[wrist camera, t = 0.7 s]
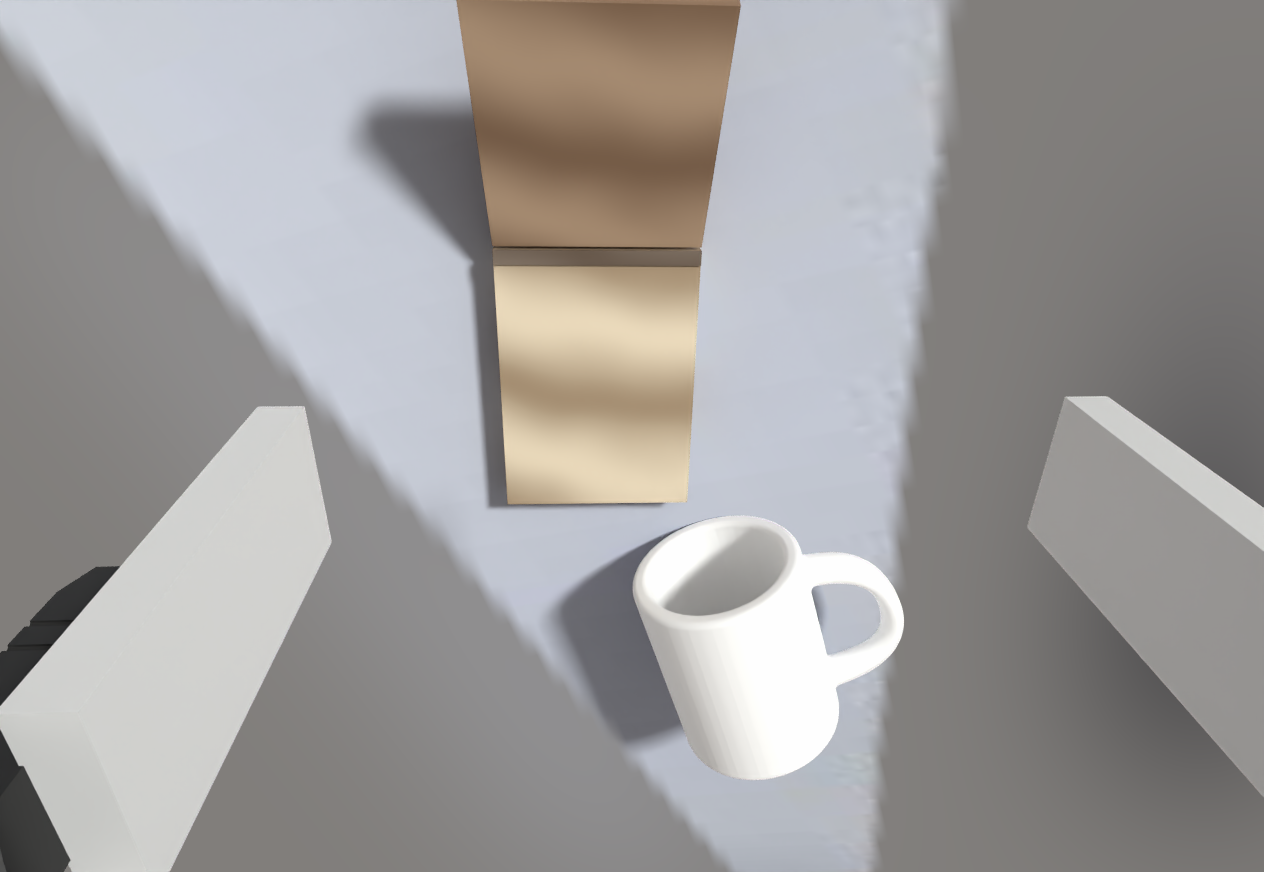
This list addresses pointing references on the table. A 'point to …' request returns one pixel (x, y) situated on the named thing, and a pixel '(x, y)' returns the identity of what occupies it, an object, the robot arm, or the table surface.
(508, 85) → the plank
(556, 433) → the floorboard
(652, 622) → the mug
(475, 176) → the table surface
